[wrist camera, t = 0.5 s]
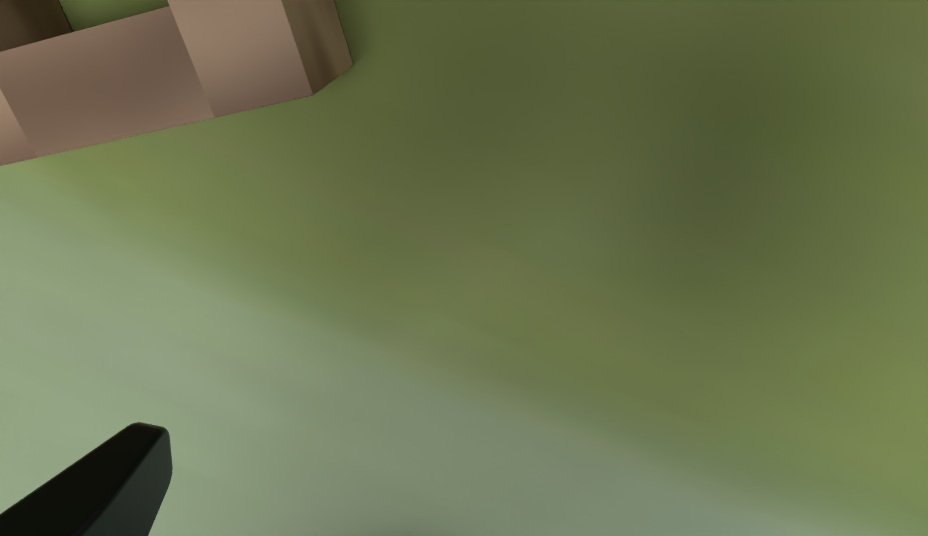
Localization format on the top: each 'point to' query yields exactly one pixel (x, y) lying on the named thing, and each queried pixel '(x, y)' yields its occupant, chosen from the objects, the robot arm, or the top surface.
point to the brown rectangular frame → (155, 68)
